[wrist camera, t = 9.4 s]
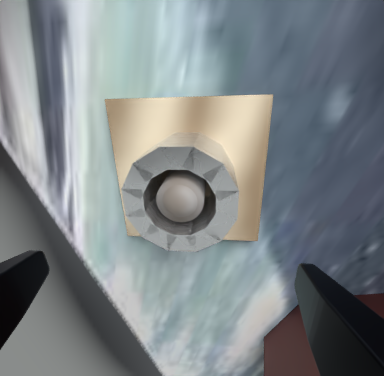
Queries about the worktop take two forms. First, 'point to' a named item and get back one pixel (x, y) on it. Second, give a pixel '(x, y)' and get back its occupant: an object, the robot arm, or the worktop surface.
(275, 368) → the bucket
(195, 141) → the steel ring
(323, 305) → the robot arm
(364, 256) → the worktop surface
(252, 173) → the post board
